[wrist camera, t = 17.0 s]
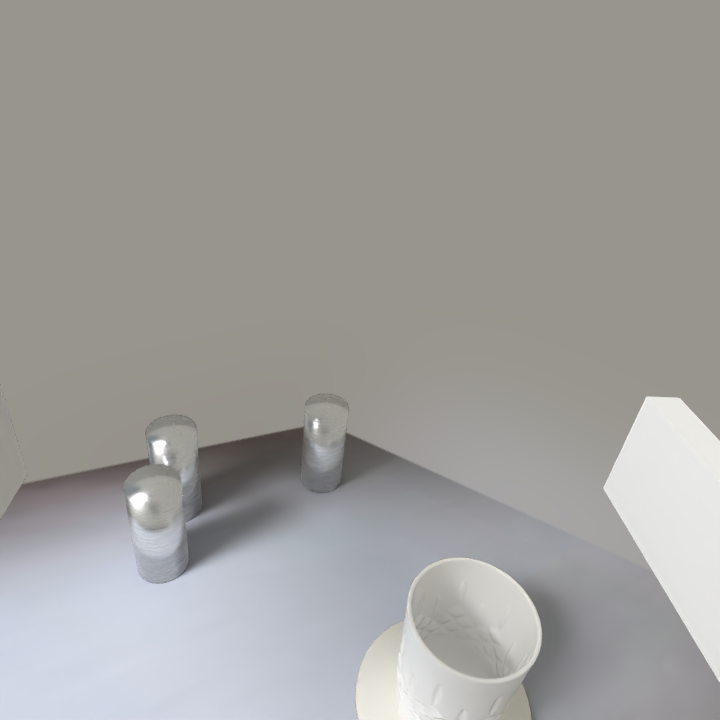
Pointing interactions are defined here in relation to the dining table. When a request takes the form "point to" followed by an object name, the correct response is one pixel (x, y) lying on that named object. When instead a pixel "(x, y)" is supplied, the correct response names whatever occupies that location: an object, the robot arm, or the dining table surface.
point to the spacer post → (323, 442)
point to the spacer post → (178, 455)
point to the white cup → (464, 642)
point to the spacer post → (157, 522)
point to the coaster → (380, 678)
